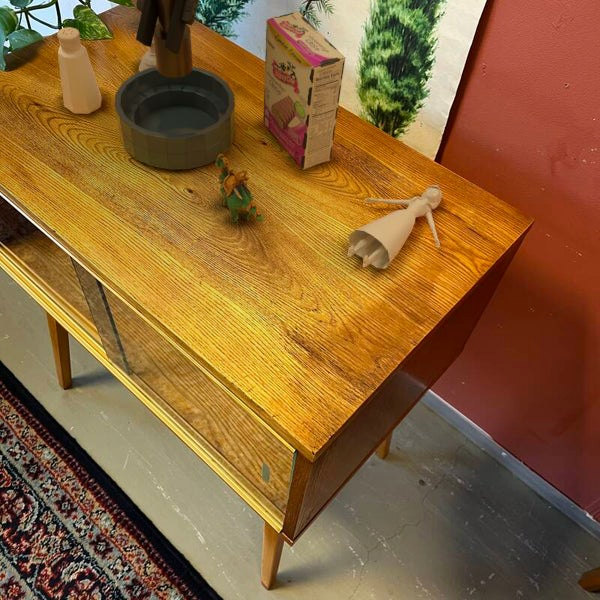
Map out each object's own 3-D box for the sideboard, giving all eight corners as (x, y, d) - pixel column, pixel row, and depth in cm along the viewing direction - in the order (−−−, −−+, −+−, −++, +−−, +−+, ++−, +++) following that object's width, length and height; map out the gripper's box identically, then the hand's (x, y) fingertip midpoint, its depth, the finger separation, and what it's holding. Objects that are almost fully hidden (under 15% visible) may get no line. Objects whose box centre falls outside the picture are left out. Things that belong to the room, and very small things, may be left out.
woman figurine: (321, 219, 78) (405, 156, 88) (315, 246, 82) (398, 182, 92) (401, 273, 74) (480, 200, 84) (392, 298, 78) (469, 226, 88)
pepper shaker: (96, 88, 97) (82, 17, 89) (107, 109, 95) (94, 38, 86) (59, 96, 96) (41, 25, 87) (69, 118, 93) (52, 47, 84)
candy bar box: (260, 125, 95) (264, 17, 82) (290, 115, 97) (298, 8, 84) (301, 173, 90) (312, 66, 77) (332, 162, 92) (348, 55, 79)
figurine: (228, 184, 87) (227, 134, 81) (273, 245, 82) (276, 196, 75) (206, 191, 86) (204, 141, 80) (251, 253, 80) (252, 205, 74)
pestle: (152, 74, 82) (137, -51, 70) (163, 54, 84) (151, -69, 72) (186, 80, 81) (177, -44, 69) (197, 60, 84) (190, -62, 72)
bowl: (103, 161, 88) (96, 124, 83) (143, 92, 98) (138, 56, 93) (217, 183, 87) (216, 147, 83) (246, 112, 97) (247, 76, 92)
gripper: (282, -136, 76) (230, 71, 79) (153, -163, 78) (108, 39, 81) (268, -176, 68) (212, 54, 72) (126, -205, 70) (78, 21, 74)
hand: (157, 46), depth 76 cm, fingers closed on pestle, 3 cm apart
